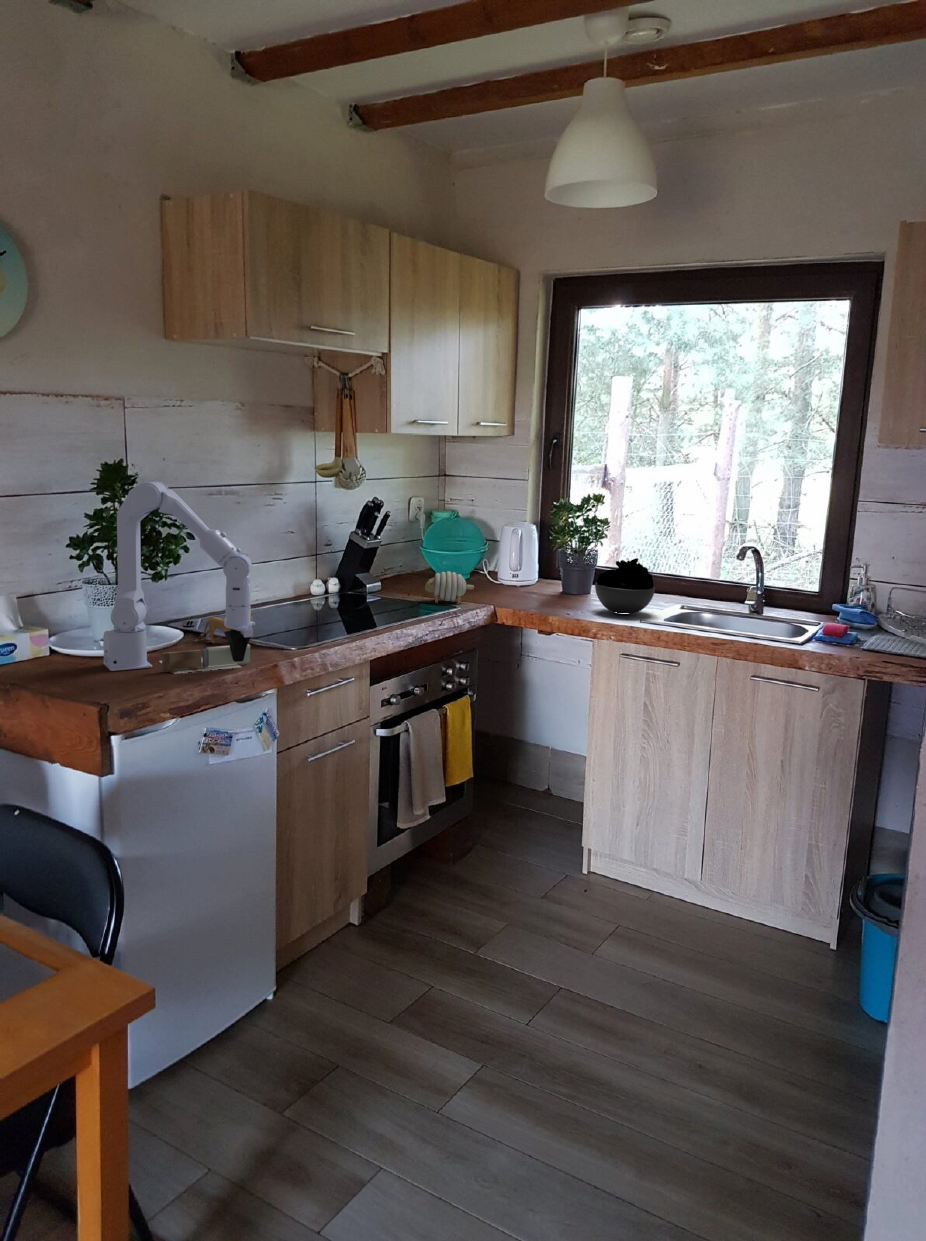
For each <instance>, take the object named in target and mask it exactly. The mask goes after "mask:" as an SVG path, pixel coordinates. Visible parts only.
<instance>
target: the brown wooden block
mask: <svg viewBox="0 0 926 1241" xmlns="http://www.w3.org/2000/svg"><path fill="white" fill-rule="evenodd" d="M161 661H162V664H161V671H162V672H163V673H169V672H170V673H171V674H174V673H176V669H186V668H190V669H191V670H192V671H196V670H198V668H196V667H202V649H187V650H179V651H166V652H165V651H164V652H163V651H162V652H161Z"/></svg>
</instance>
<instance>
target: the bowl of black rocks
mask: <svg viewBox="0 0 926 1241" xmlns="http://www.w3.org/2000/svg"><path fill="white" fill-rule="evenodd" d="M615 565H616V566H617V568H616V569H613V568H611V569H607V570H605V572H603V573H602V572H600V573H599V576H598V577H597V582H595V583H594V590H595V594H596V596H597V599H598V600H599V602H600V604H601V605H602V606H603V607H604V608H605V609H607V610H608V611H609V612H611V611H612V613H613V612H617V613H634V614H636V613H639V612H641V611H642V610H644V609H645V608H646V607H647V606H648V605H649V604H650V602H651V601H652V599H653V597H654V594H655V591H656V587H655V586H654V585H655V584H654V579H653V575H652V574H651V573H650V572H649V568H647V567H646V566H644V565H642V564H641V563H639V558H638V557H636V558H633V559H631V560H627V561H625V560H623V559H621V560H620V561H619V560H615Z"/></svg>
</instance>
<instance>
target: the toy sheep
mask: <svg viewBox="0 0 926 1241" xmlns="http://www.w3.org/2000/svg"><path fill="white" fill-rule="evenodd" d="M474 588H475V586H474V584H467V581H466V580H465V578H464V577H463V575H462V574H460V573H458V574H457V573H456V572H455V571H453V572H451V571H449V570H447V571H446V572H445V571H442V572H441V573H439V572H436V573H435V575H434V577H432V578H429V579H428V580H427V582H426V583H425V585H424V590H425V591H426V592H427V593H433V600H434V599H435V601H434V603H435V602H438V601H439V602H440V601H445V602H446V601H449V602H454V601H455V602H456V599H457V602H460V603H461V597H462V596H464V594H465V593H466V591H467V590H474ZM457 602H456V603H457Z"/></svg>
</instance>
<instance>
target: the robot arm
mask: <svg viewBox="0 0 926 1241" xmlns="http://www.w3.org/2000/svg"><path fill="white" fill-rule="evenodd" d="M157 509H158V512H159V513H161V514H166V515H171V516H173V517H175V518H176V519H177V520H178V521H179V522H181V523H182V525H184V526H185V527H186V528H187V529H188V530H189V531H191V532H192V533H193V535H195V536H196V537H197V538H198V539H199V547H200V548H201V549H202V550H203V551H204V552H205V553H206V554H207V555H208V556H209V557H210V558H211V559H212V560H213V561H215V563H216V564H217V565H218V566H220V567H222V571H223V574H224V576H225V579H226V584H225V617H224V618H223V619H224V626H225V627H226V628H230V629H231V630H230V631H225V632H223V634H224V636H225V638H226V639H227V642H228V646H230V649H231V654H232V658H233V661H235V662H239V661H243V660H244V656H245V652H246V648H247V645H248V644H249V643H250V641H251V639H252V638H253V637H254V629H253V626H254V627H255V626H256V622H255V621H254V620H253V621H251V613H252V612H251V605H252V604H251V601H252V600H251V597H252V596H251V592H252V591H251V588H252V587H251V575H250V573H251V572H252V569H253V563H252V560H251V558H250V557H249V555H248V554H247V553H245V552H242V548H240V547H236V546H235V545H234V544H233V543H232V541H230V540H229V539H228V538H227V536H228V534H227V533H226V532H225V531H222V532H221V531H220V530H219V529H211V528H209V526H207V525H206V524H205V522H204V521H203V520H202V519H201V518H200V517H199V516H198V515H197V513H195V512H194V510H192V508H191V507H190V506H188V504H187V503H186V502H185V501H184V500H183V499H182V498H181V497H180V496H179V495H178V494H177V492H175V490H172V489H170V488H169V487H168V486H167V484H166V483H164V482H163V481H161V480H149V481H145V482H142V483H141V482H140V483H139V484H137V485H136V486H134V487H133V488H131V489H130V490H129V491H128V494H127V496H126V497H125V499H124V501H123V502H122V503H121V505H120V507H119V509H117V512H116V536H117V538H116V542H117V543H116V544H117V545H116V546H117V547H116V548H117V550H116V552H117V592H116V595H115V598H114V607H113V609H112V611H111V613H110V621H111V623H112V625H113V629H111V630H106V631H104V632H103V637H102V639H103V642H102V644H103V646H102V647H103V665H104V666H105V667H106V668H107V669H108V670H109V671H110V672H117V671H126V670H136V669H137V670H138V669H147V668H148V669H149V668H152V667H153V664H151V663H150V662H149V661H148V654H147V653H148V649H147V644H148V643H147V626H146V624H145V622H144V621H145V620H146V619H147V617H148V616H149V615H148V614H149V607H148V605H147V604H146V602H145V593H144V591H143V589H142V567H141V565H142V564H141V563H142V560H141V554H142V553H141V552H142V551H141V550H142V549H141V521H142V520H143V519H144V518H146V517H147V516H148V515H149V514H150V513H151V512H153V511H155V510H157Z"/></svg>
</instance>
